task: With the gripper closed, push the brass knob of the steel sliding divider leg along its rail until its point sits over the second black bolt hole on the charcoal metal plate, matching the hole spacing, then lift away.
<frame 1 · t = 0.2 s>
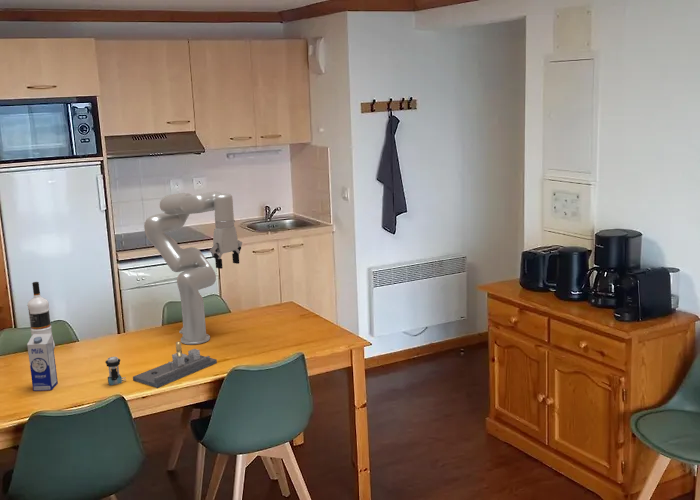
hand: (227, 265, 306), 36 cm above the table, tool pointing down, fingers open, 9 cm apart
milk carton: (45, 387, 280), on the table
bolt plate: (176, 371, 292), on the table
vodka: (43, 350, 322), on the table
sliding leg: (175, 354, 290), point 7 cm above the table, slide at 0.0 cm
push button: (117, 383, 282), on the table
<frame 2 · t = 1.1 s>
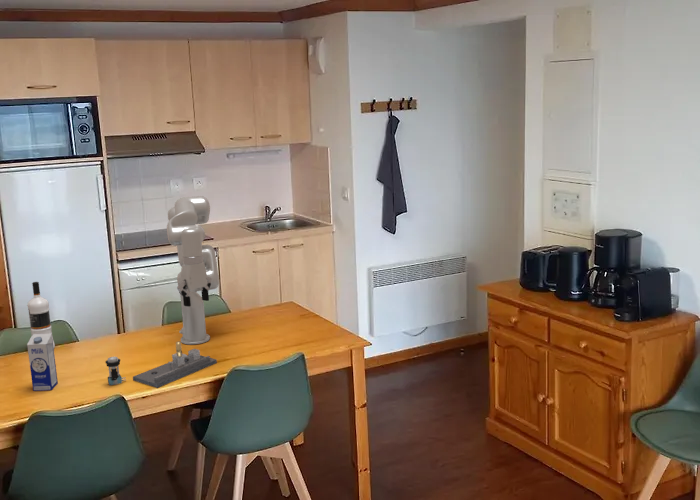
hand: (196, 303, 292), 26 cm above the table, tool pointing down, fingers open, 9 cm apart
nothing on the table moved.
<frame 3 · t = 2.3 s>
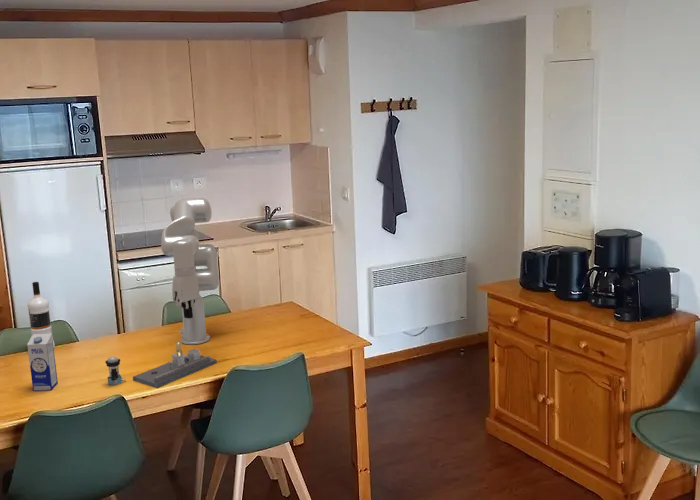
hand: (188, 317, 290), 21 cm above the table, tool pointing down, fingers closed
nothing on the table moved.
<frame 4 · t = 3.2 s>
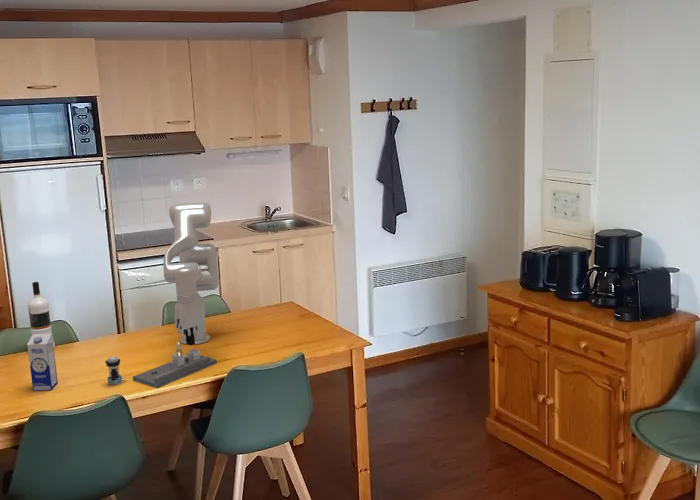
hand: (190, 344, 292), 10 cm above the table, tool pointing down, fingers closed
nothing on the table moved.
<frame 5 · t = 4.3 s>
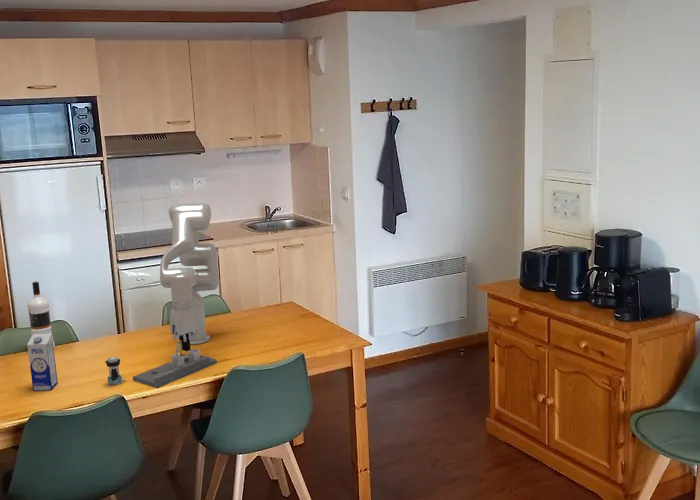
hand: (186, 350, 291), 8 cm above the table, tool pointing down, fingers closed
sliding leg: (175, 354, 290), point 7 cm above the table, slide at 0.1 cm, touching gripper
everything else where it was.
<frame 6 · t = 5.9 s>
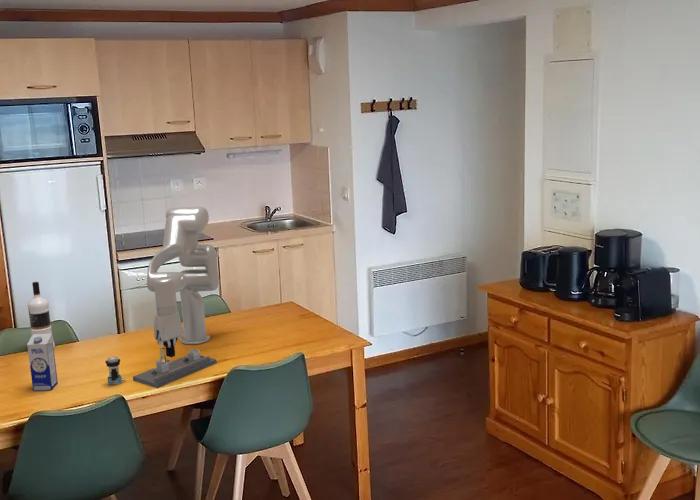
hand: (170, 356, 285), 8 cm above the table, tool pointing down, fingers closed
sliding leg: (159, 360, 283), point 7 cm above the table, slide at 7.9 cm, touching gripper
everything else where it was.
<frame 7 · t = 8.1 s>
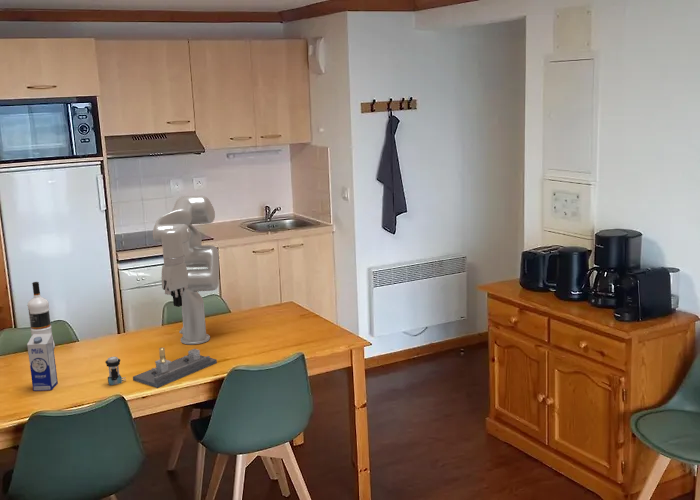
hand: (178, 305, 293), 25 cm above the table, tool pointing down, fingers closed
sliding leg: (159, 360, 283), point 7 cm above the table, slide at 8.0 cm
everything else where it was.
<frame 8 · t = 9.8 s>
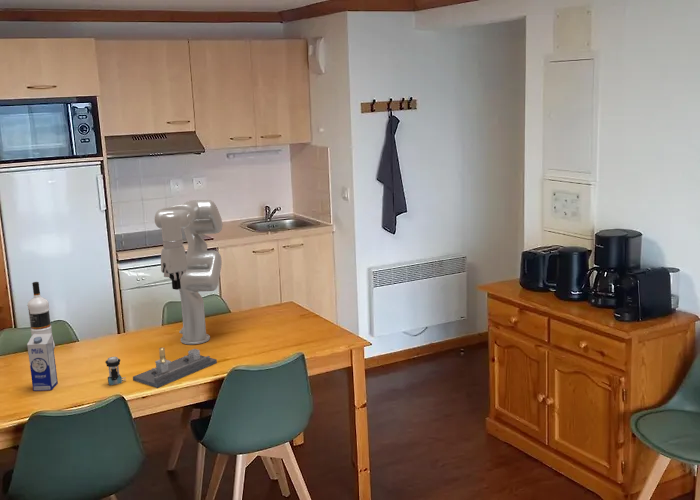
hand: (176, 288, 301), 29 cm above the table, tool pointing down, fingers closed
nothing on the table moved.
at the end: sliding leg slide at 8.0 cm; push button moved 0.2 cm from its start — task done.
